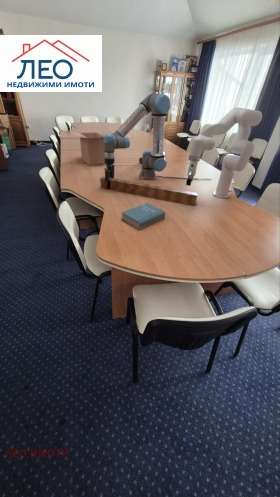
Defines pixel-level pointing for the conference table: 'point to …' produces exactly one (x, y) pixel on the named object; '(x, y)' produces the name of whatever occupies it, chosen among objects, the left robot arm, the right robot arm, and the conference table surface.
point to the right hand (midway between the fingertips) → (189, 183)
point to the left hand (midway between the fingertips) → (110, 187)
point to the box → (92, 146)
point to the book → (142, 215)
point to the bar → (150, 191)
